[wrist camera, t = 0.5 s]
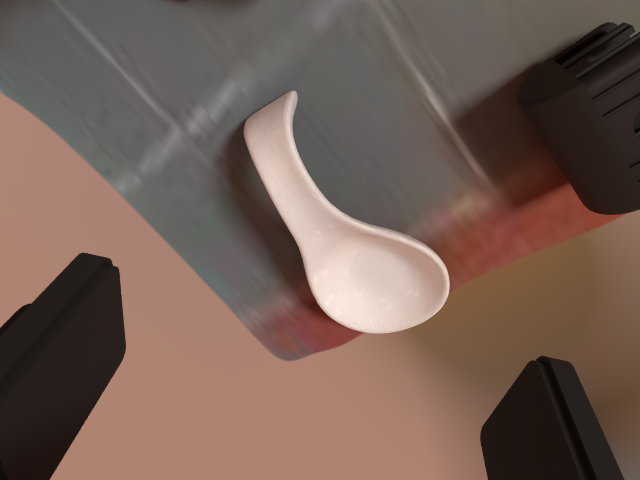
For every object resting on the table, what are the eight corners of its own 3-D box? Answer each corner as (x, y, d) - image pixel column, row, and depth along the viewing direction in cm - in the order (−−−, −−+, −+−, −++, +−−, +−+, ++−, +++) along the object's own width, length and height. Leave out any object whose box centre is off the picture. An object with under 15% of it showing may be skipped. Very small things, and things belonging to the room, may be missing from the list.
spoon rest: (465, 283, 42) (479, 340, 36) (359, 323, 47) (355, 379, 41) (330, 60, 32) (318, 89, 26) (211, 140, 37) (178, 180, 31)
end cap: (503, 84, 31) (529, 116, 26) (607, 11, 28) (662, 30, 23) (567, 183, 35) (602, 230, 29) (666, 129, 32) (725, 170, 26)
